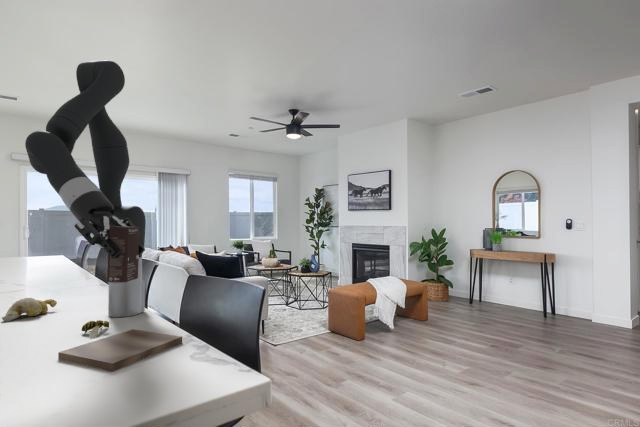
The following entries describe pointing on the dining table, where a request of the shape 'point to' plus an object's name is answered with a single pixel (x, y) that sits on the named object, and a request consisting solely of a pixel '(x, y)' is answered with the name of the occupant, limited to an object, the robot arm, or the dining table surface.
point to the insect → (94, 327)
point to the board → (120, 349)
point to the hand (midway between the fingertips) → (130, 254)
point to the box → (124, 254)
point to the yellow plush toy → (28, 308)
